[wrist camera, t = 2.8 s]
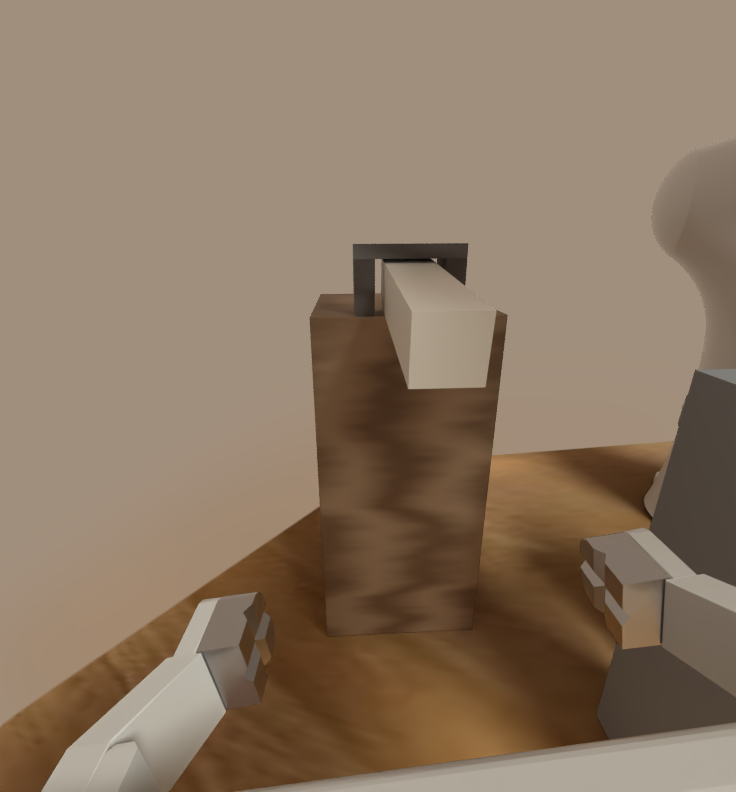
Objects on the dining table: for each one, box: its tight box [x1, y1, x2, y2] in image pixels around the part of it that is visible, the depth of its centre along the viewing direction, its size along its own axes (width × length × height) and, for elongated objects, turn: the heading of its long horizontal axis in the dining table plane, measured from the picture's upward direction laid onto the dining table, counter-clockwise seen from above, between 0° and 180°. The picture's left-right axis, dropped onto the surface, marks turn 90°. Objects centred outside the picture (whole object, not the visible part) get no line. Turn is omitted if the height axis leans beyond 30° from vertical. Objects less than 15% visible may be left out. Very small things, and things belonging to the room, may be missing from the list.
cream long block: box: [381, 258, 496, 389], centre depth 21 cm, size 3×13×3 cm, turn 3°
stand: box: [310, 243, 507, 636], centre depth 34 cm, size 12×12×30 cm
